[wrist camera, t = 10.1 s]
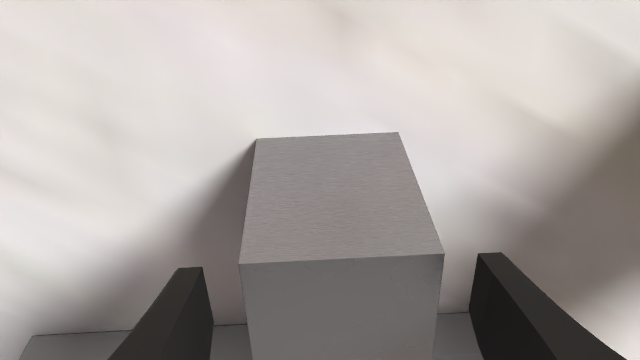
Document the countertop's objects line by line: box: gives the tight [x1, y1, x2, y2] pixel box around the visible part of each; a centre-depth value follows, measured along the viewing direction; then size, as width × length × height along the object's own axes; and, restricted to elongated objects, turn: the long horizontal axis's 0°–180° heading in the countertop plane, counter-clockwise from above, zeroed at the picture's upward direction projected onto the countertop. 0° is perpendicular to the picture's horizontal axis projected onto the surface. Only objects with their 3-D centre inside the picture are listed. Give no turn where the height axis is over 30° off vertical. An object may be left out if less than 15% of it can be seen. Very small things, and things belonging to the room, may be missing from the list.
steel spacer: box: [239, 132, 445, 360], centre depth 15 cm, size 4×4×6 cm
